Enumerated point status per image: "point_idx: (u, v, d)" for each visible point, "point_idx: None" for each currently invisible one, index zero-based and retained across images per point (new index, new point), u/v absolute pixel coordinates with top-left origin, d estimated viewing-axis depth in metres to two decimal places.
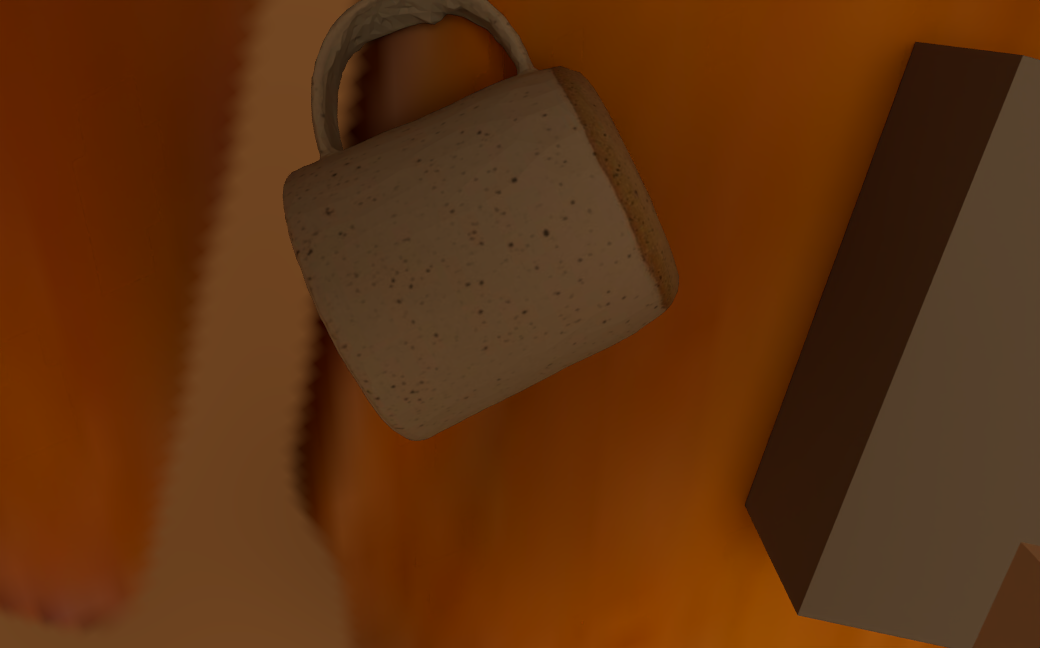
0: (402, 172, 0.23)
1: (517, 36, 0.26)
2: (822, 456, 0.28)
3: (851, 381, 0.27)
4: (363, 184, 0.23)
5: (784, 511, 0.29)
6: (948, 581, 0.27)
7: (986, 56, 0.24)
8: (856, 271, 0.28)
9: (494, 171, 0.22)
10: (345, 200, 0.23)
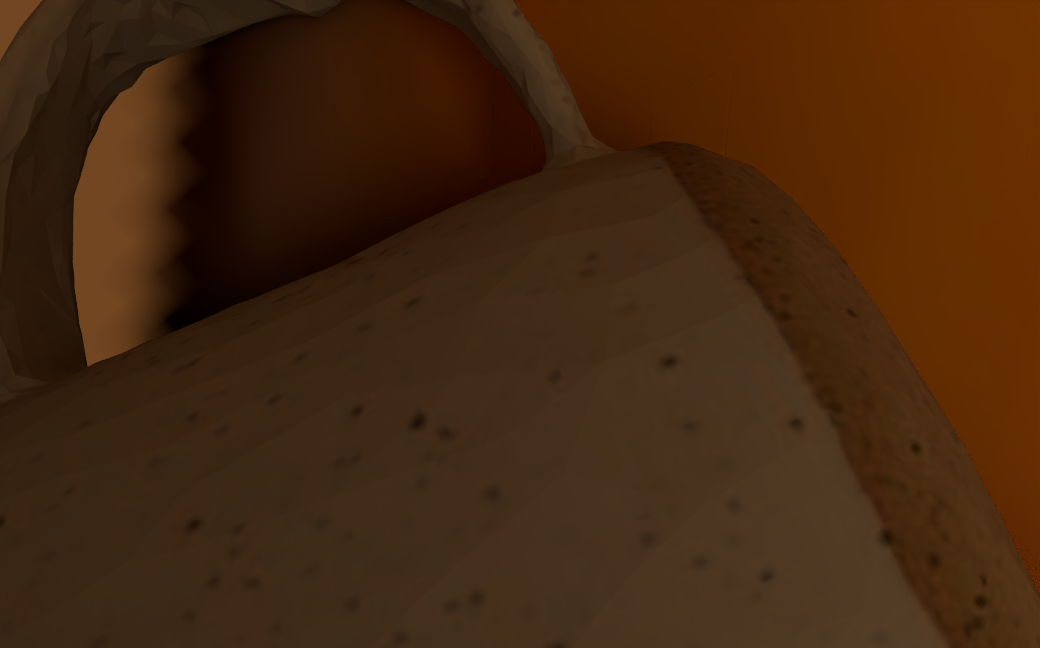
0: (130, 573, 0.06)
1: (545, 49, 0.09)
2: None
3: None
4: None
5: None
6: None
7: None
8: None
9: (476, 608, 0.05)
10: None
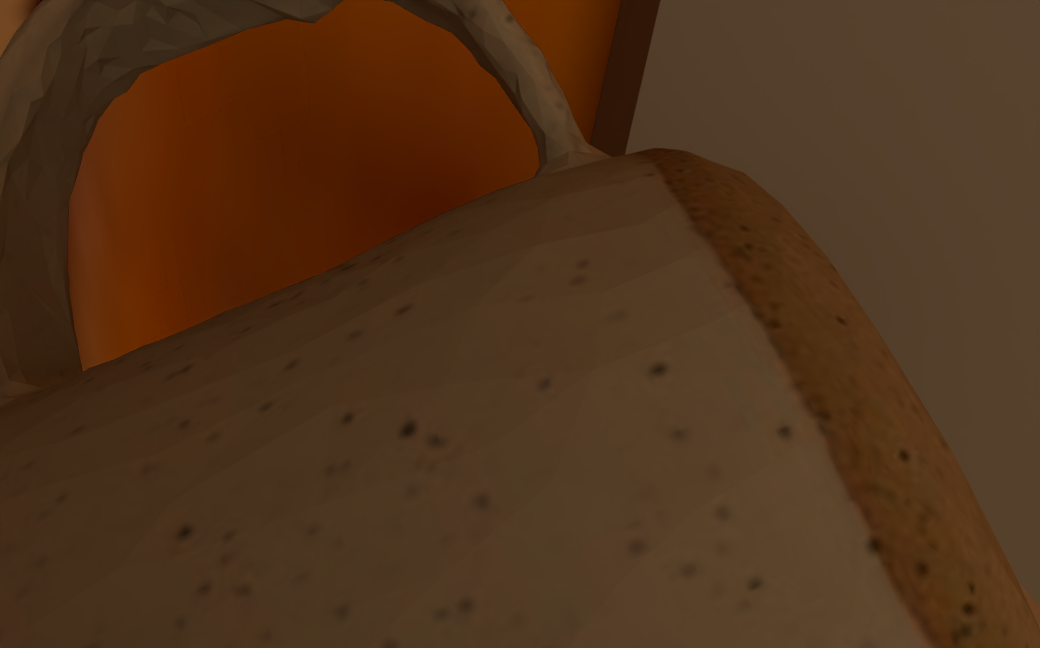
0: (120, 580, 0.06)
1: (538, 55, 0.09)
2: None
3: None
4: None
5: None
6: None
7: None
8: None
9: (465, 616, 0.06)
10: None
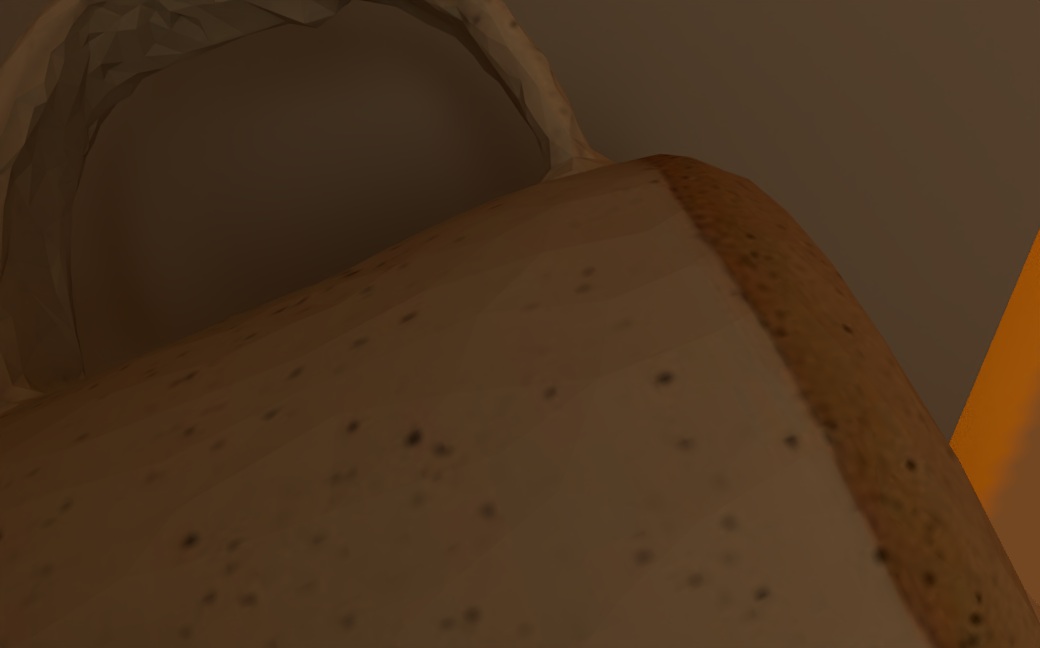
0: (126, 589, 0.06)
1: (542, 61, 0.09)
2: None
3: None
4: None
5: None
6: None
7: None
8: None
9: (470, 625, 0.06)
10: None
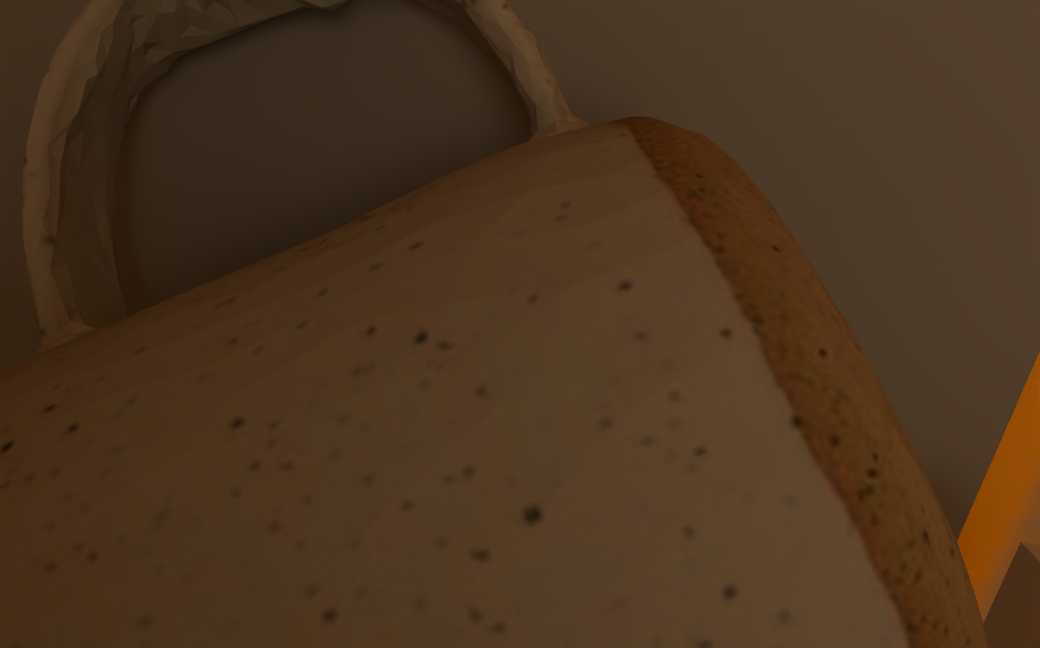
0: (185, 462, 0.07)
1: (530, 37, 0.10)
2: None
3: None
4: (70, 496, 0.08)
5: None
6: None
7: None
8: None
9: (468, 480, 0.07)
10: (10, 551, 0.07)
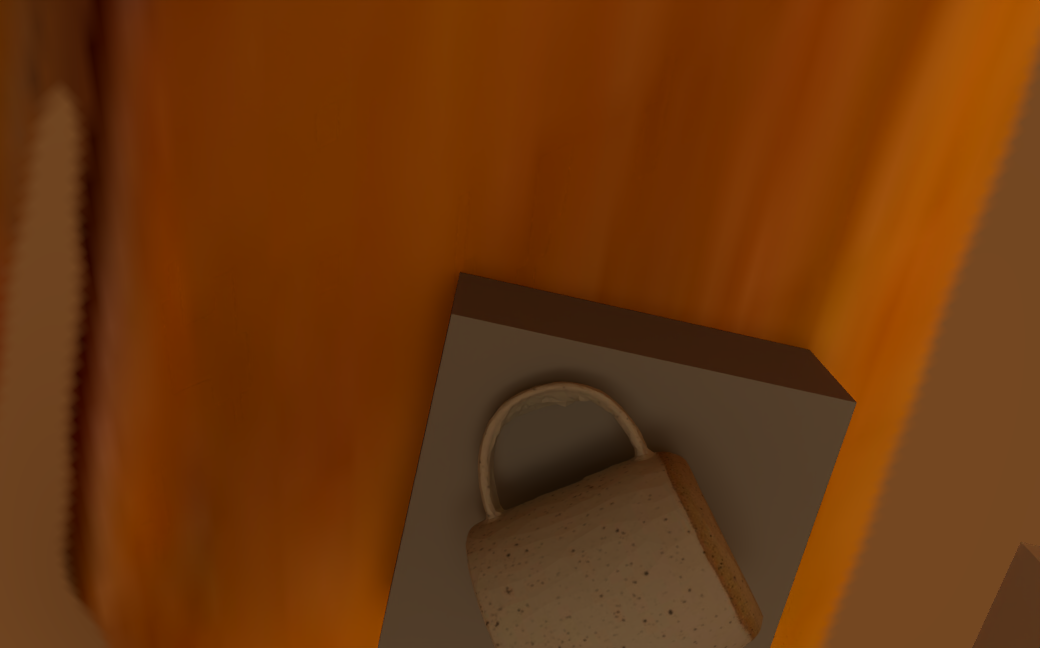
0: (561, 560, 0.31)
1: (635, 428, 0.34)
2: None
3: (408, 508, 0.40)
4: (532, 568, 0.31)
5: None
6: (472, 644, 0.39)
7: None
8: None
9: (631, 565, 0.31)
10: (520, 581, 0.31)
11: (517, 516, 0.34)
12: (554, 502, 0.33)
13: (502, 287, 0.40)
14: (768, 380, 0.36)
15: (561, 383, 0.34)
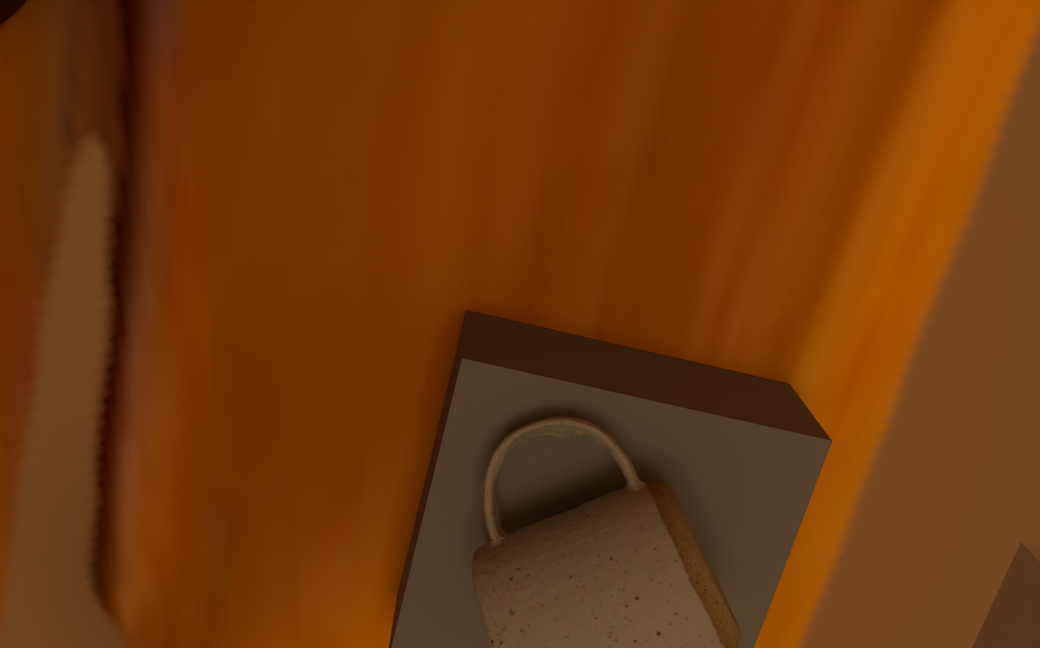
0: (560, 585, 0.34)
1: (627, 461, 0.37)
2: (405, 576, 0.43)
3: (417, 531, 0.43)
4: (533, 591, 0.35)
5: (397, 608, 0.45)
6: None
7: (462, 346, 0.40)
8: (433, 455, 0.44)
9: (623, 590, 0.34)
10: (522, 603, 0.34)
11: (519, 541, 0.37)
12: (553, 529, 0.36)
13: (506, 326, 0.43)
14: (752, 420, 0.40)
15: (560, 419, 0.37)
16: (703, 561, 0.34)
